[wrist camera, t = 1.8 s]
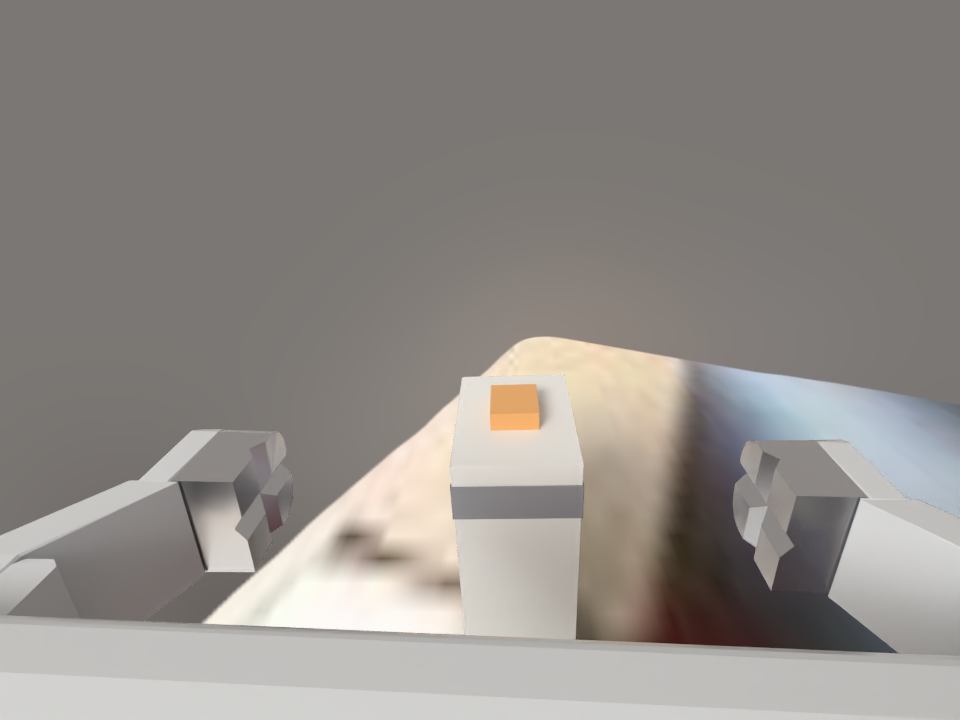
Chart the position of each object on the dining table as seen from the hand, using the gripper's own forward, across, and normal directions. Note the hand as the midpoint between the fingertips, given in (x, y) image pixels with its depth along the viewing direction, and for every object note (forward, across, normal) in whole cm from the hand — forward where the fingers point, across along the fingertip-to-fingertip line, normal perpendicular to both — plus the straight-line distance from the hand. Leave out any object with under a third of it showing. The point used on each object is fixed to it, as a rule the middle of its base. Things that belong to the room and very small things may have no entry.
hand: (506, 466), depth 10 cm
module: (+13, 0, +20) cm, 24 cm away
